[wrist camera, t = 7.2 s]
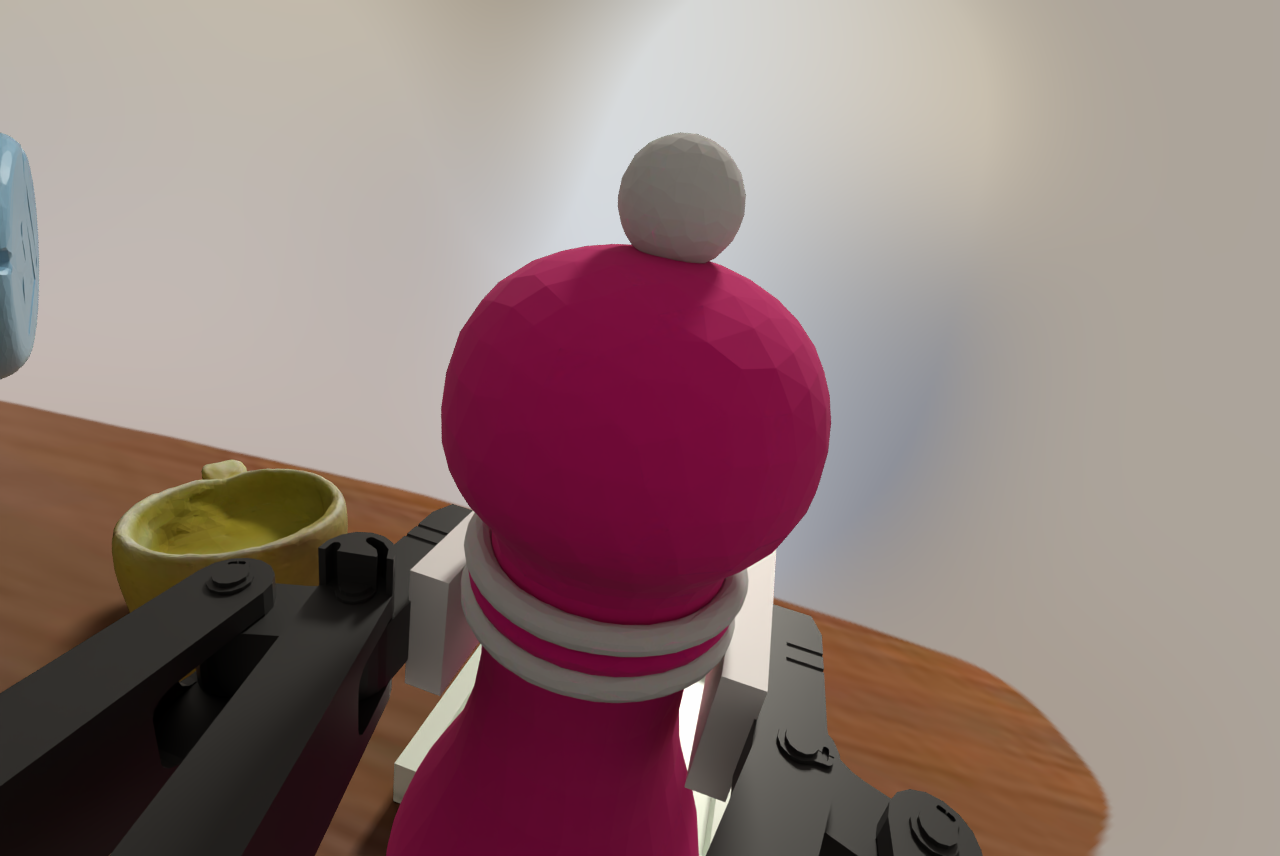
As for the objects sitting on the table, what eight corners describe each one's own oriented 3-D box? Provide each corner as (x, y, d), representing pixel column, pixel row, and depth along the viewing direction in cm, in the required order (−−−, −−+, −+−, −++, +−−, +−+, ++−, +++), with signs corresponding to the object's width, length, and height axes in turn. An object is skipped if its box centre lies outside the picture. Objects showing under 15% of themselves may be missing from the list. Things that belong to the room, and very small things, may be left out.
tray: (393, 800, 25) (394, 763, 24) (529, 600, 38) (533, 570, 37) (716, 930, 23) (730, 895, 22) (744, 671, 35) (754, 641, 35)
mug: (399, 660, 29) (322, 482, 26) (155, 771, 25) (25, 580, 22) (381, 554, 40) (325, 417, 36) (207, 621, 36) (125, 476, 32)
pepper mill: (565, 1265, 11) (1031, 147, 4) (307, 1018, 14) (247, 23, 6) (696, 903, 18) (970, 201, 10) (501, 775, 20) (596, 130, 12)
